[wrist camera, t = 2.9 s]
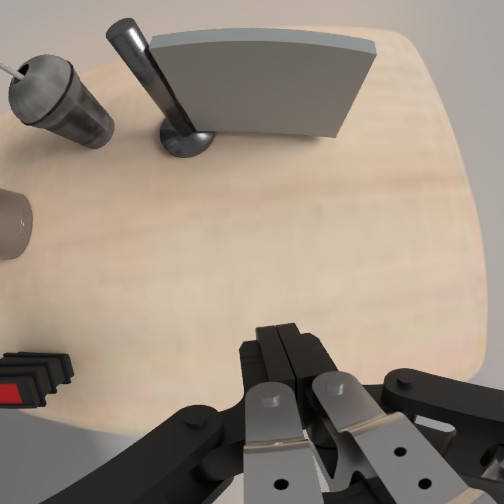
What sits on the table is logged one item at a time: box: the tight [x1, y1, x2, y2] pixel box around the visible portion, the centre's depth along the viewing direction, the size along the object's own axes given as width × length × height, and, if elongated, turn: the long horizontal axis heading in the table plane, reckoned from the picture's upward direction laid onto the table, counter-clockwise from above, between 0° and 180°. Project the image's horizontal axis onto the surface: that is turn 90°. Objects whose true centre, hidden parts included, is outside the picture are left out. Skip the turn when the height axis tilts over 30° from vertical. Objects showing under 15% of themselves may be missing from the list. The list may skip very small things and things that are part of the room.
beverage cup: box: [0, 54, 114, 149], centre depth 21 cm, size 7×7×20 cm
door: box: [149, 28, 377, 138], centre depth 21 cm, size 14×2×14 cm, turn 86°
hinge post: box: [106, 18, 216, 158], centre depth 21 cm, size 6×6×18 cm
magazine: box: [0, 352, 74, 409], centre depth 25 cm, size 4×13×15 cm, turn 99°
